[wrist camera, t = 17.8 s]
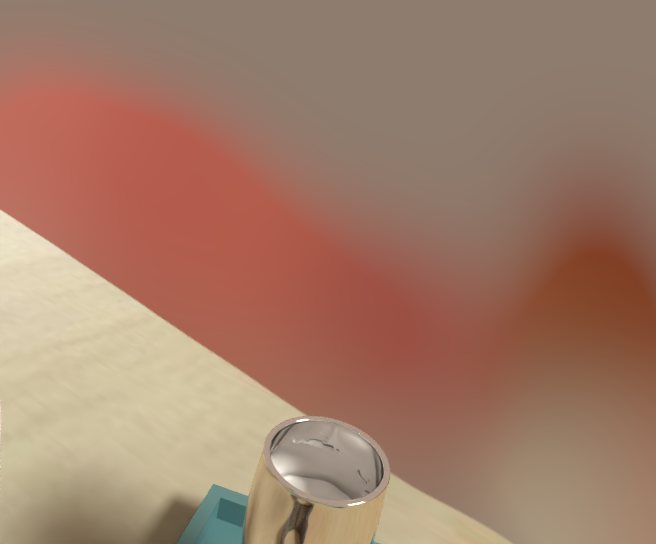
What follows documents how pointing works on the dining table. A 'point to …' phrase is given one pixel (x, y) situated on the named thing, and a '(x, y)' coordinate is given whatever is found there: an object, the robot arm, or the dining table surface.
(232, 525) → the tray
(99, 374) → the dining table surface
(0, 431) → the robot arm
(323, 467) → the silver metal tumbler
